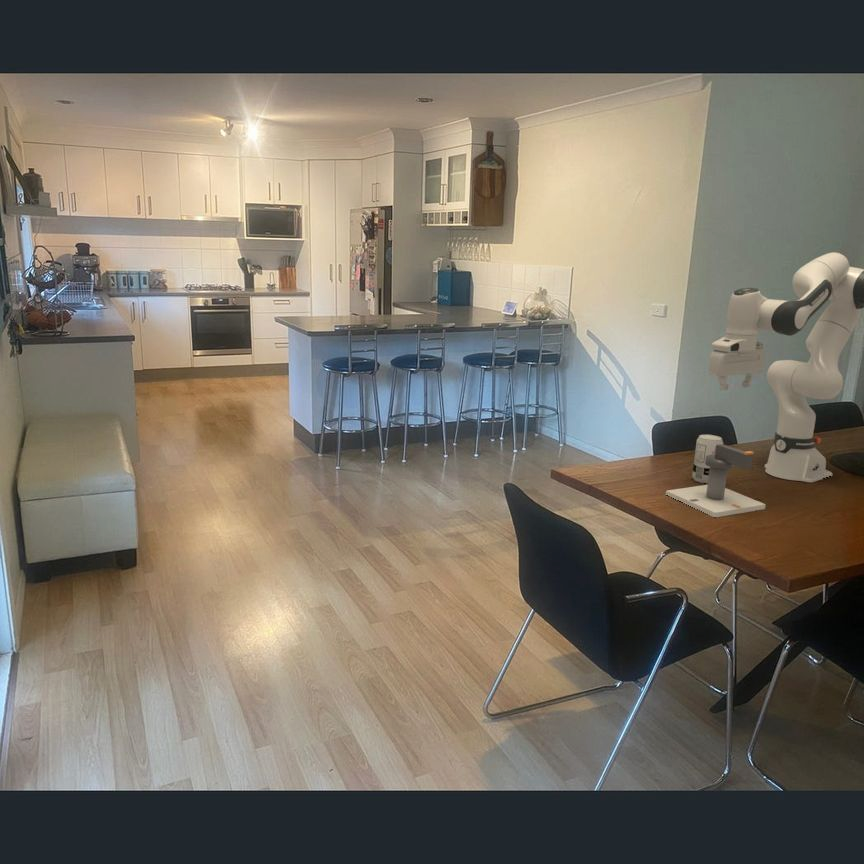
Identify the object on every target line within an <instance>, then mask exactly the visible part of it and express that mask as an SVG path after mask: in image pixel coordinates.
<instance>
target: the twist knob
mask: <svg viewBox="0 0 864 864" xmlns="http://www.w3.org/2000/svg"><path fill="white" fill-rule="evenodd" d="M754 455H755V453H754V451H751V450H749V451H744V450H742V449H739V448H737V447H732V446H730V445H727V444H724V443H723V444H718V445H716V451H715V455H708V456H706V460H705V464H706V465H707V466H709V467H713V468H718V469H728V470H732V469H733V468H734V466H735V467H739V468H741V469H744V470H748V469H752V467H753V461H754Z"/></svg>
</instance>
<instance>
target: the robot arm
mask: <svg viewBox="0 0 864 864" xmlns="http://www.w3.org/2000/svg"><path fill="white" fill-rule="evenodd" d="M791 286H792V289H793V292H794V293H795V295H796V296H797V297H798V298H799V299H797V300H783V299H771V298H768V297H765V296H764V295H762V294H761V290H760V289H759V288H755V287H742V288H738V289H736V290H734V291H733V292H732V294H731V297H730V299H729V303H728V307H727V315H726V316H727V317H726V319H727V327H726V330H725V332H724V333H725V334H724V336H722V337H721V338H719V339H717V340H715V341H713V342H712V343H711V346H710V347H711V350H712V351H711V353H710V357H709V361H708V362H709V363H708V373H709V375H710V376H713V377H717V379H718V381H719V389H720V390H721V391H727V390H728V389H729V384H728V383H727V382H726V380H727V379H728V376H736V375H744V376H745V377H744V380H742V381H741V386H742V388H750V386H751V382H752V380H753V378H755V373H760V372H763V371H764V370H765V364H766V363H765V362H766V361H765V360H766V355H765V354H766V352H765V345H764V344H763V343H762V342H761V341H757V340H758V331H762V332H766V333H776V334H779V335H783V336H787V337H788V336H789V337H793V336H794V335H797V334H798V333H800V332H801V331H802V330H803V328H804V327H805V326H806V325H807V323H808V321H809V320H810V319H811V317H813V315H814V314H816V312H817V311H819V310H820V309H821V308H822V306H824V304H826V302H827V301H829V300H830V303H829V304H828V305H827V307H826V308H825V309H824V311H823V312H822V313H821V315H820V316H819V318H818V319H817V321H816V323H815V324H814V326H813V327H812V329H811V330H810V333H809V334H808V337H807V338H806V339H805V346H806V349H807V350H808V352H809V353H810V357H809V359H808V361H807V362H804V361H798V360H793V359H783V360H776V361H773V363H772V364H771V365H770V366H769V368H768V369H767V372H766V379H767V383H768V385H769V386H770V387H771V388H772V390H773V392H774V394H775V397H776V400H777V405H778V420H777V426H776V427H777V428H776V432H775V433H774V435H773V443H774V444H773V445H772V446H771V447H770V448H771V449H770V452H769V455H768V459H767V462H766V463H765V464H764V469H765V470H764V471H765V473H766V474H768V475H769V476H772V477H775V478H779V479H782V480H788V481H799V482H803V483H804V482H805V483H816V482H817V481H821V480H824V479H823V478H825V479H827V478H826V477H828V478H830V477H829V476H831V477H833V473H832V471H829V470H828V469H826V468H827V467H826V466H827V459H826V457H825V455H824V456H823V454H822V453H821V452H820V451H819V450H818V449H817V448H816V444H820V443H821V441H822V439H821V437H818V436H814V430H815V424H816V420H817V419H816V418H817V417H816V416H817V415H816V412H815V411H814V410H813V409H812V408H811V407H810V405H809V404H808V401H807V398H811V399H814V400H832V399H834V398H835V397H837V396H838V395H839V394H840V392H841V391H842V389H843V387H844V386H843V385H844V378H843V376H842V375H843V374H841V372H840V370H839V358H840V356H841V353H842V351H843V350H844V347H846V343H847V342H848V341H849V339H850V337H851V335H852V333H853V331H854V330H855V327H856V325H857V323H858V320H859V317H860V315H861V311H862V310H861V309H864V268H859V267H855V266H854V267H853V266H850V262H849V260H848V258H847V257H846V256H845V255H843V254H842V253H839V252H836V251H835V252H828V253H825V254H823V255H820V256H819V257H816V258H814V259H812V260H811V261H809V262H807V263H806V264H804V265H802V266H801V267H800V268H798V270H797V271H796V272H795V273H794V274H793V277H792V281H791Z"/></svg>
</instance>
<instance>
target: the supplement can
mask: <svg viewBox="0 0 864 864" xmlns="http://www.w3.org/2000/svg"><path fill="white" fill-rule="evenodd" d="M718 444H724V441H723V438H722V437H721V436H718V435H713V434H700V435H698V437H697V439H696V444H695V451H694V460H693V466H692V467H693V468H692V474H691V478H692V479H693V480H694V481H695V482H697V483H699V484H704V483H706V484H705V485H708V477H709V470H710V467H709V466H707V465H706V464H705V460H706V456H708V455H715V451H716V445H718Z"/></svg>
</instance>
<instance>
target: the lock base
mask: <svg viewBox="0 0 864 864" xmlns="http://www.w3.org/2000/svg"><path fill="white" fill-rule="evenodd" d="M728 470H729V469H718V468H713V467H710V470H709V477H708V484H702V485H697V486H690V487H683V488H682V487H681V488H676V489H669V490H666V491H665V496H666V495H668V496H670V497H669V498H671V497H672V498H671V499H673V498H674V499H673V500H675V499H676V501H677V500H679V501H681V502H683V503H682V504H684V503H685V504H684V505H686V504H687V505H686V506H688V505H689V507H690V506H691V507H690V508H692V507H693V508H692V509H694V508H695V509H694V510H697V509H698V510H697V511H699V510H700V511H699V512H701V511H702V512H701V513H703V512H704V513H703V514H705V513H706V515H707V514H708V515H707V516H710V517H712V518H714V517H716V518H720V517H727V516H733V515H738V514H744V513H750V512H756V510H757V511H763V510H766V506H767V505H766V504H765V503H763V502H761V501H759V500H755V499H753V498H751V497H748V496H746V495H743V494H742V493H739V492H737V491H734V490H732V489H730V488H729V489H728V488H726V485H727V484H726V483H727V477H728ZM668 496H667V497H668ZM679 501H678V502H679ZM681 502H680V503H681Z"/></svg>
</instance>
